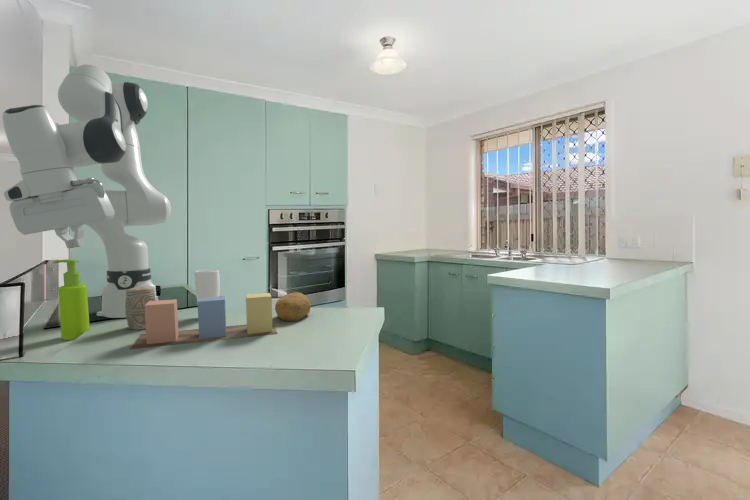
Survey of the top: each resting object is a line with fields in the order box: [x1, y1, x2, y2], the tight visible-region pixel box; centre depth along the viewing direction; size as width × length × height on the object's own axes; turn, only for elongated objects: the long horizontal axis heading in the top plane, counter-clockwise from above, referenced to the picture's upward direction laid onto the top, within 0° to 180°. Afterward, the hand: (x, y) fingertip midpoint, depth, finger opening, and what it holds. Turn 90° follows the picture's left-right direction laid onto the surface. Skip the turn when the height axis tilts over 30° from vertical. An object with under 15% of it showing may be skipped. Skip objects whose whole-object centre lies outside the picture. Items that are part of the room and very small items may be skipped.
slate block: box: [197, 295, 227, 339], centre depth 98 cm, size 5×6×9 cm
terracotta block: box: [145, 298, 179, 344], centre depth 94 cm, size 5×6×9 cm
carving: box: [125, 287, 156, 331], centre depth 106 cm, size 6×8×12 cm
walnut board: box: [129, 321, 278, 350], centre depth 99 cm, size 12×32×2 cm, turn 110°
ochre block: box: [245, 292, 273, 334], centre depth 101 cm, size 5×6×9 cm
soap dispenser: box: [52, 258, 91, 341], centre depth 102 cm, size 6×7×20 cm
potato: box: [274, 291, 312, 322], centre depth 115 cm, size 10×14×8 cm
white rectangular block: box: [194, 268, 221, 305], centre depth 117 cm, size 7×7×15 cm
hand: (76, 246), depth 88 cm, fingers closed
